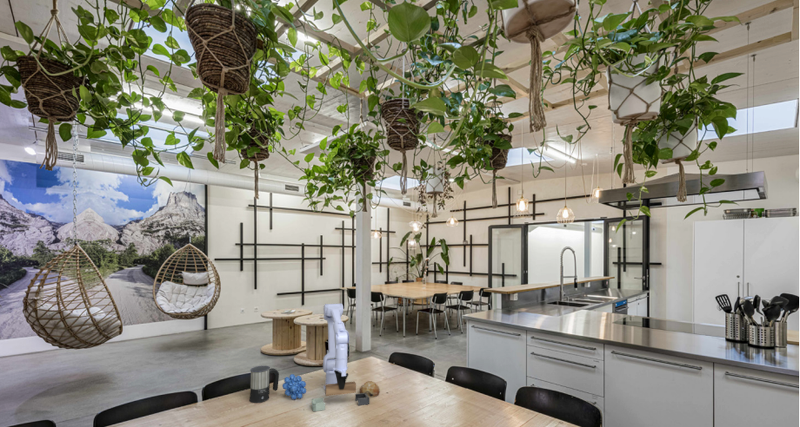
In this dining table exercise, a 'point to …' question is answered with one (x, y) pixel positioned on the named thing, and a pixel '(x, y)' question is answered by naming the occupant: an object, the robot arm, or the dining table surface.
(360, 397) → the fixed cap
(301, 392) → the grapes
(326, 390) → the slat
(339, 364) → the robot arm
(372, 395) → the bread roll
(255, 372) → the milk frother
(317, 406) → the sliding cap
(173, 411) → the dining table surface
